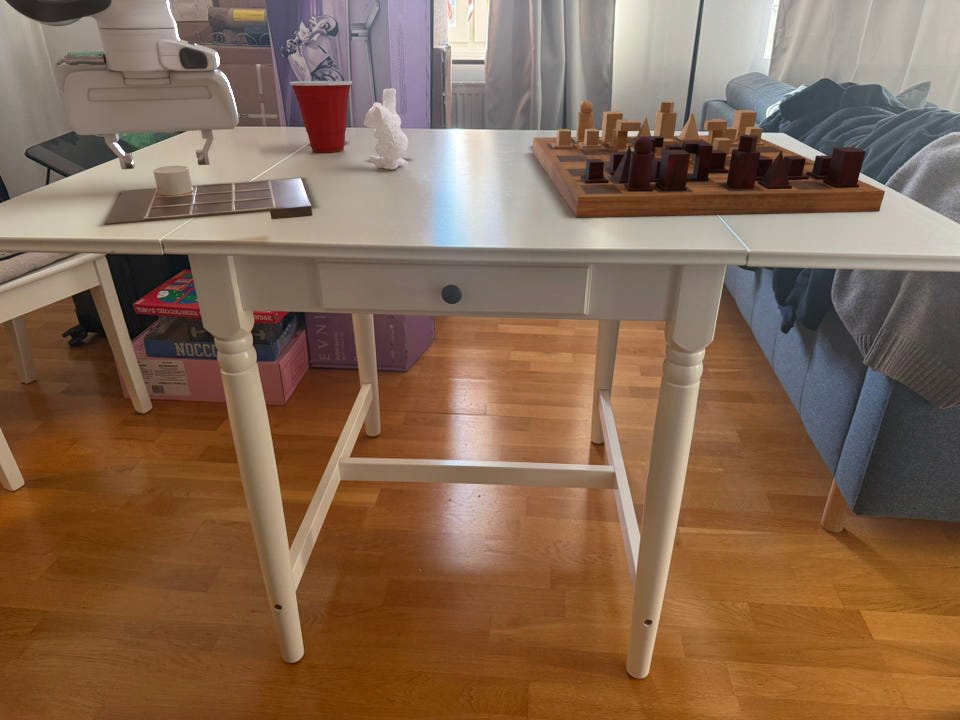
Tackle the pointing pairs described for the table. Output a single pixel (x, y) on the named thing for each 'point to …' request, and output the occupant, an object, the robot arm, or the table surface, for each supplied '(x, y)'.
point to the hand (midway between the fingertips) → (166, 166)
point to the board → (214, 201)
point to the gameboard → (695, 169)
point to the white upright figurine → (387, 132)
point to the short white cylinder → (173, 180)
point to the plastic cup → (324, 112)
